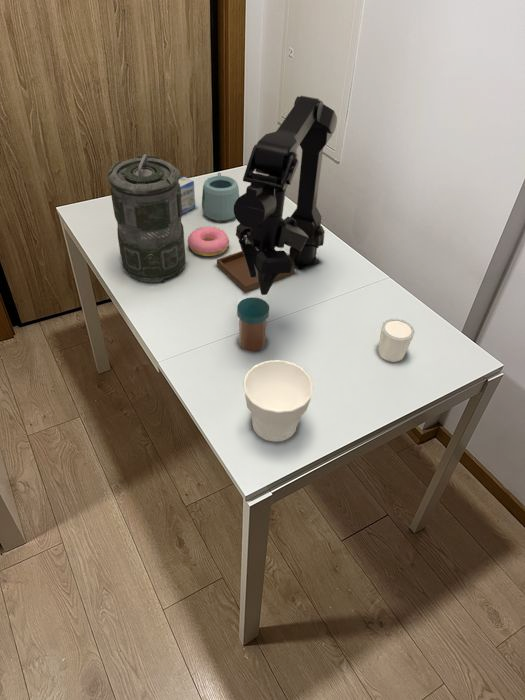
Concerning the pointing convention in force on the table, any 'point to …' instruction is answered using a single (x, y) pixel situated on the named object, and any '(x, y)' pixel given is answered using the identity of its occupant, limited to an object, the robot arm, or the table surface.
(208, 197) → the mug
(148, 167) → the canister
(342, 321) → the table surface
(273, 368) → the cream flower pot
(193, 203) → the medicine box
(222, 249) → the doughnut
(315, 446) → the table surface
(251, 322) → the lid
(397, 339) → the cream cylinder
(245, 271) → the tray
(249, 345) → the jar
